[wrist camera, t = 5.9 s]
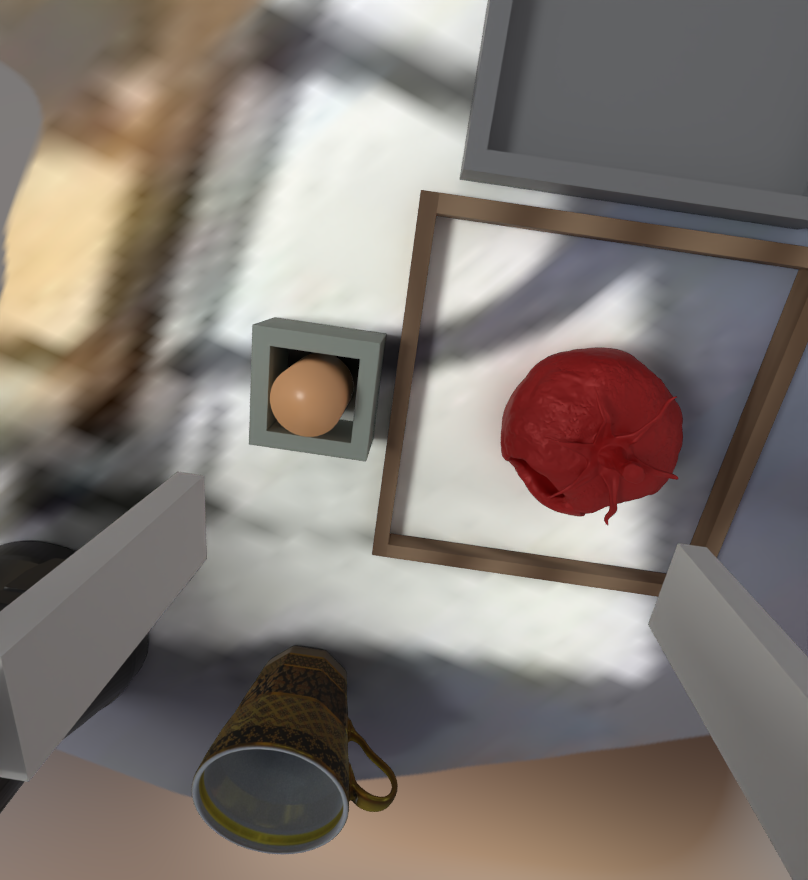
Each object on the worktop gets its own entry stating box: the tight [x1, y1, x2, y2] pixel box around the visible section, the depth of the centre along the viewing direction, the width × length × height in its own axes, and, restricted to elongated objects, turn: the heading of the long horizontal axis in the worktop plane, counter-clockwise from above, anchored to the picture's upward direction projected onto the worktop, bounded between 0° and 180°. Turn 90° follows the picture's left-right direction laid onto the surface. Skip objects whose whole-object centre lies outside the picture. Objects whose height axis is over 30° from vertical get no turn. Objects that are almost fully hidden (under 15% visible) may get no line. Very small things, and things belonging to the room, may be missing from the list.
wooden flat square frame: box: [372, 190, 808, 596], centre depth 31 cm, size 23×23×2 cm
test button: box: [270, 353, 354, 437], centre depth 28 cm, size 4×4×4 cm
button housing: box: [249, 317, 386, 461], centre depth 29 cm, size 7×7×4 cm
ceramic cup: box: [192, 646, 397, 854], centre depth 35 cm, size 13×10×10 cm
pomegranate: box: [501, 348, 683, 525], centre depth 27 cm, size 10×10×9 cm
